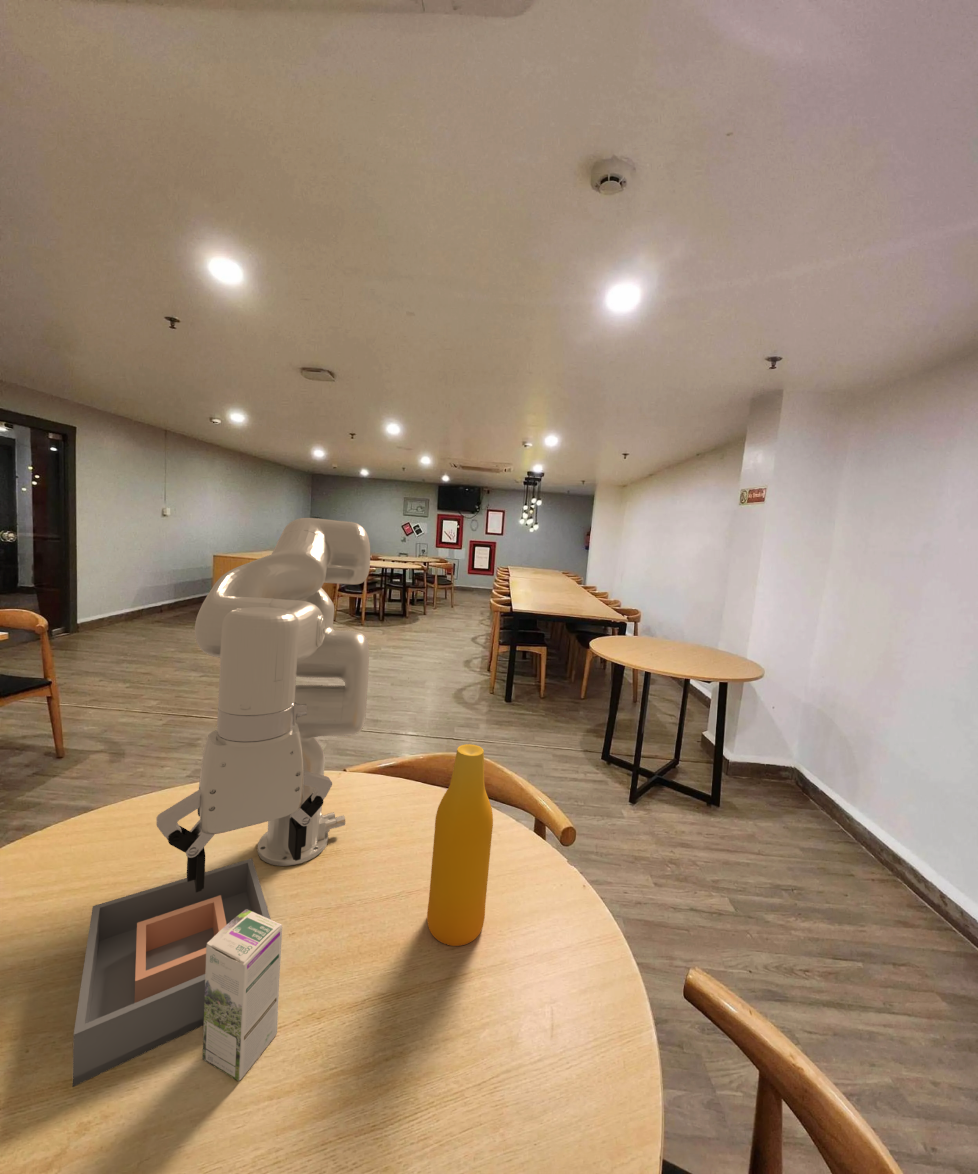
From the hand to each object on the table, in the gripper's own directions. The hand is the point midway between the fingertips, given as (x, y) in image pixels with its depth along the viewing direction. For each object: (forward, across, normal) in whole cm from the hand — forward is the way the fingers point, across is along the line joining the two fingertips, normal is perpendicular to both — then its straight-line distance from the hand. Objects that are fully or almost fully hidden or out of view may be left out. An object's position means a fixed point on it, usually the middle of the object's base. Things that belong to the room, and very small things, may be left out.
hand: (249, 867), depth 51 cm
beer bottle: (+22, -31, -2) cm, 38 cm away
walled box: (+22, +5, -15) cm, 27 cm away
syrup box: (+22, 0, 0) cm, 22 cm away
